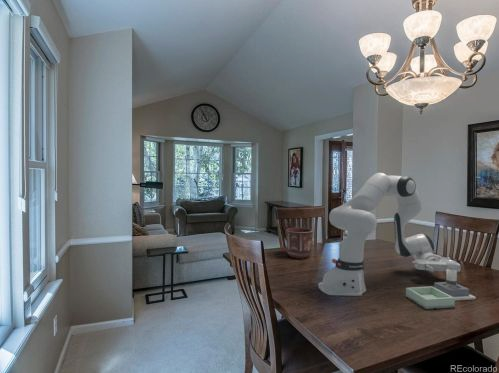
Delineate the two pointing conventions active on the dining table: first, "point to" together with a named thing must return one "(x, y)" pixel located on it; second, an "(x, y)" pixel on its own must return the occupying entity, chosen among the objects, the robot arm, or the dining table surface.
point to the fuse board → (454, 291)
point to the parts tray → (430, 297)
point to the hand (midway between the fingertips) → (443, 270)
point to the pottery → (299, 242)
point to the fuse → (451, 274)
